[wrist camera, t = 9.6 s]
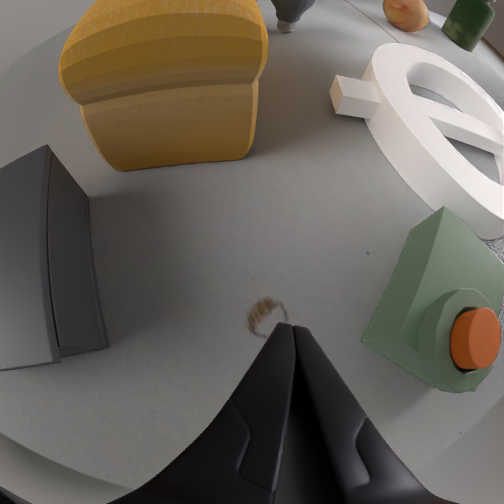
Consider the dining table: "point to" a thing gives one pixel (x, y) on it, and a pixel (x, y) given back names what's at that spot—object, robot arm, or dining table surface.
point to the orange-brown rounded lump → (406, 14)
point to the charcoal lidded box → (72, 266)
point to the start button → (475, 339)
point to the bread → (167, 79)
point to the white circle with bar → (431, 131)
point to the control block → (436, 300)
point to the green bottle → (468, 22)
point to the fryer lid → (25, 264)
